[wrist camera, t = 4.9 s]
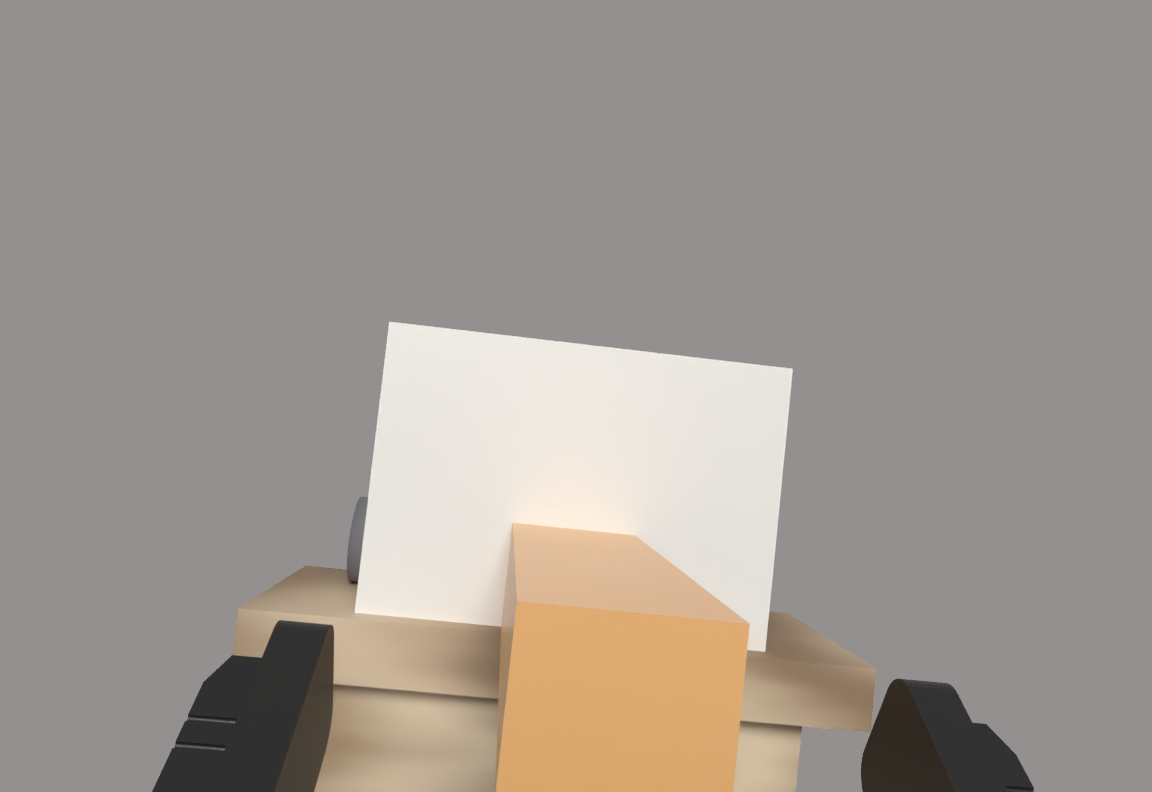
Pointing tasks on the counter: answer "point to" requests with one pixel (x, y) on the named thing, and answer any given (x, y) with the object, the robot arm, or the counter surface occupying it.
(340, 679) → the dock pedestal
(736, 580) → the white box with knobs
